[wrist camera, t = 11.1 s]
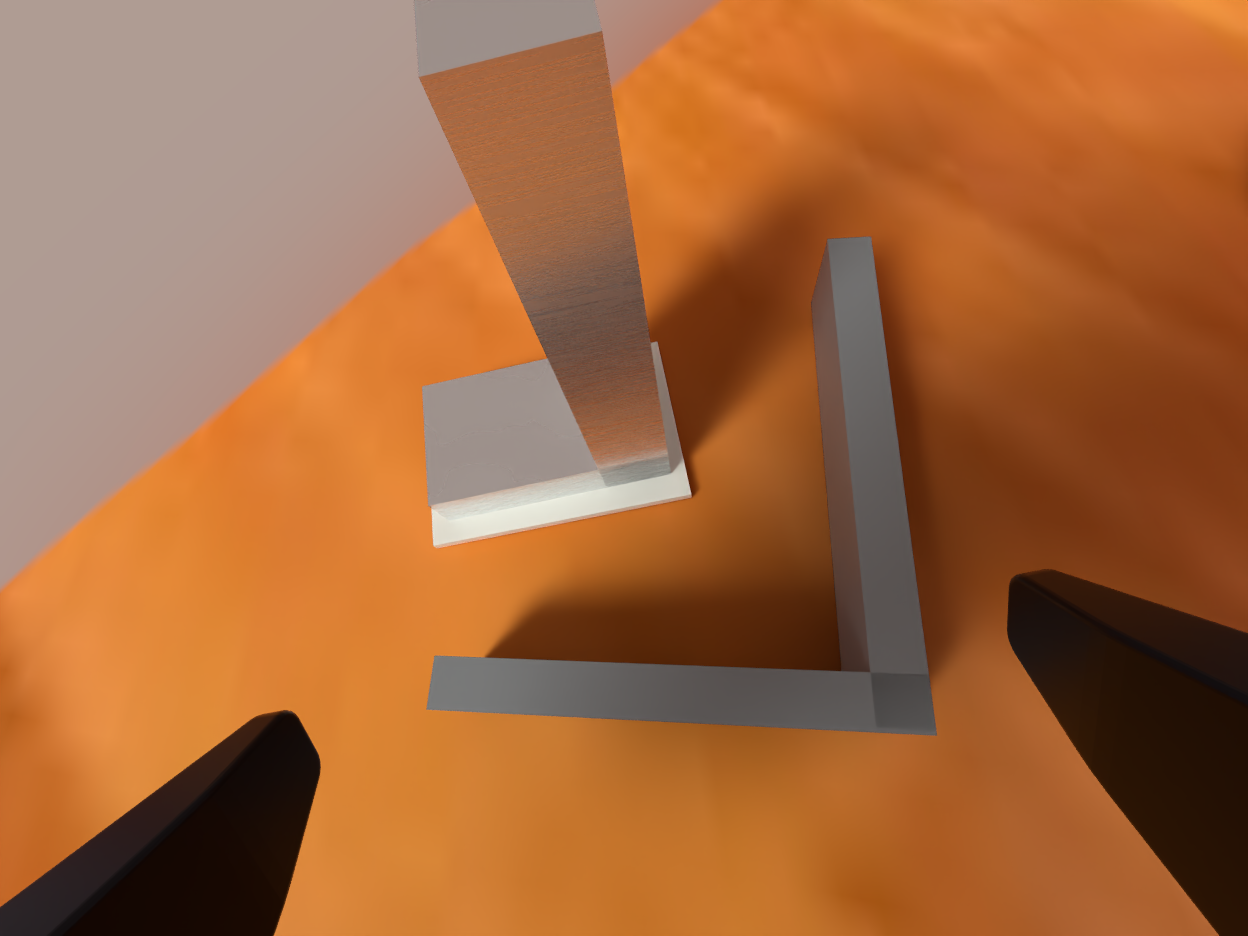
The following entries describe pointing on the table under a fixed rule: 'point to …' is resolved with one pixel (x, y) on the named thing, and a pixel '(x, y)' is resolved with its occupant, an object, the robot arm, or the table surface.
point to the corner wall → (862, 566)
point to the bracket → (541, 260)
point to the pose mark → (581, 503)
